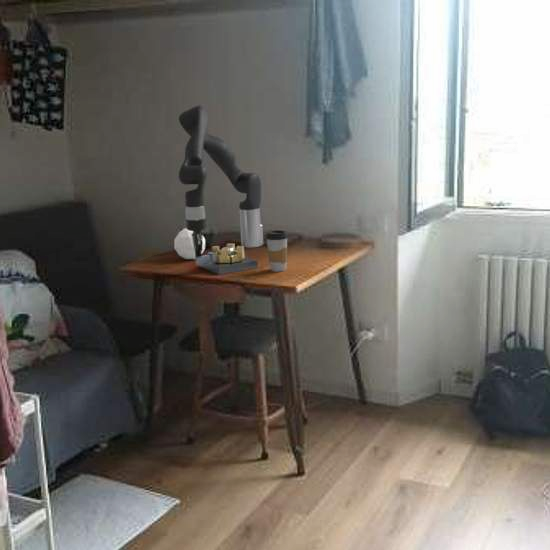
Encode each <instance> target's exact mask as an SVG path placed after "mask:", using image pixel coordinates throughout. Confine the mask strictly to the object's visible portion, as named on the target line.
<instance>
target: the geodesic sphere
mask: <svg viewBox="0 0 550 550" xmlns="http://www.w3.org/2000/svg"><path fill="white" fill-rule="evenodd" d="M191 234H193V231H189V230H187V227H186V228H185V227H183V228H182V230H181V231H179V232H178V234H177V235H176V237H175V238H174V247H173V248H174V250H175V251H176V252H177V254H178V256H180V257H181V258H183V259H184V260H195V250H194V247H193V246H194V245H193V240H192V236H191ZM202 241H203V242H202V251H201V255H202V254H203V253H204V251H205V249H206V238H205V236H203V239H202Z"/></svg>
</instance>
